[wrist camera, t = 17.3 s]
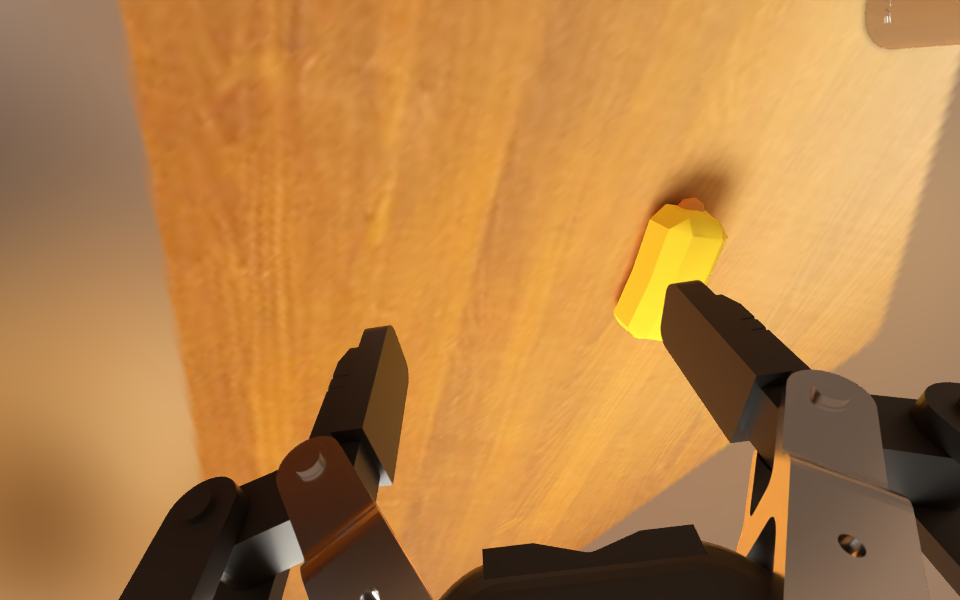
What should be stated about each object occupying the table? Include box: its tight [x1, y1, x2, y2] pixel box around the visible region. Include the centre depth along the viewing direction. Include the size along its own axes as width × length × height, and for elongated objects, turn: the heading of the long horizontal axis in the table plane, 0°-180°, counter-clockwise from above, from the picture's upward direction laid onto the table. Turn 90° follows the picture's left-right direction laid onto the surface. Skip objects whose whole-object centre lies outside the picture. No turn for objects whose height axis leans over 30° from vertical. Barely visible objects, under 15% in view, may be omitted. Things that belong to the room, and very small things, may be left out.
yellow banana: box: [613, 197, 727, 341], centre depth 42 cm, size 18×7×8 cm
